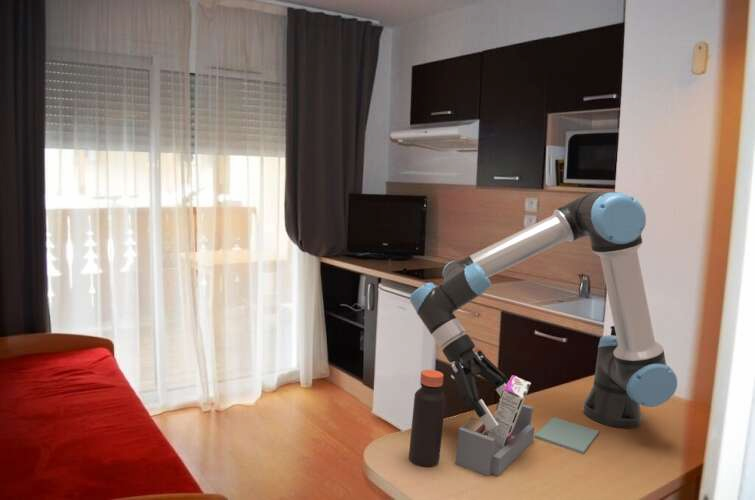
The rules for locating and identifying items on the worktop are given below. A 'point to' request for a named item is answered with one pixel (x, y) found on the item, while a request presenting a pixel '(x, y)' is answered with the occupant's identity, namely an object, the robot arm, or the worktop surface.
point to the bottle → (427, 420)
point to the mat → (567, 435)
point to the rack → (480, 448)
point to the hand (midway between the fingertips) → (505, 418)
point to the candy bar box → (508, 411)
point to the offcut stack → (475, 425)
